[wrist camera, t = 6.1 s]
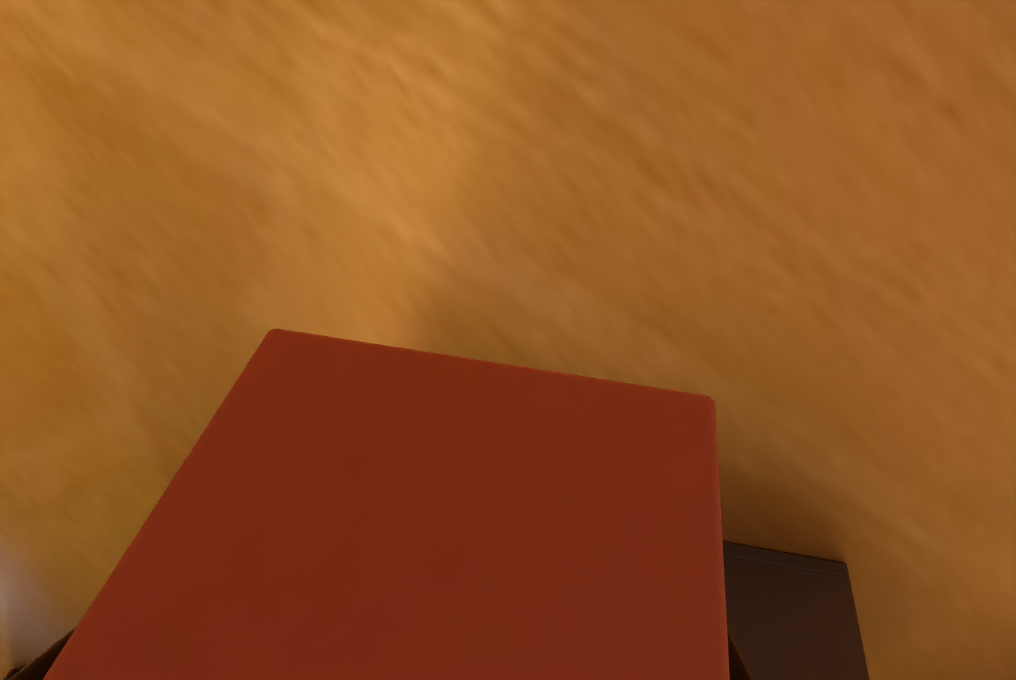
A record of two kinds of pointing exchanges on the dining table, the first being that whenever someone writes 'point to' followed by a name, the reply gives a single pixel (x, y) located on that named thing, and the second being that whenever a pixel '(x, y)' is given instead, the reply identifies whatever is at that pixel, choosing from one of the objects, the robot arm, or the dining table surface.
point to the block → (423, 530)
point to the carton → (792, 615)
